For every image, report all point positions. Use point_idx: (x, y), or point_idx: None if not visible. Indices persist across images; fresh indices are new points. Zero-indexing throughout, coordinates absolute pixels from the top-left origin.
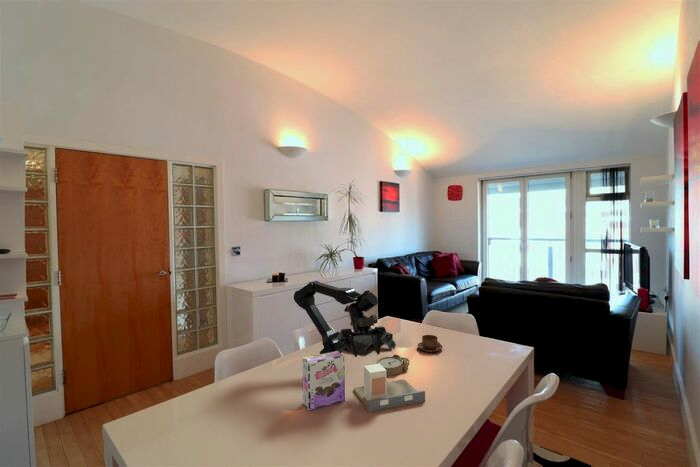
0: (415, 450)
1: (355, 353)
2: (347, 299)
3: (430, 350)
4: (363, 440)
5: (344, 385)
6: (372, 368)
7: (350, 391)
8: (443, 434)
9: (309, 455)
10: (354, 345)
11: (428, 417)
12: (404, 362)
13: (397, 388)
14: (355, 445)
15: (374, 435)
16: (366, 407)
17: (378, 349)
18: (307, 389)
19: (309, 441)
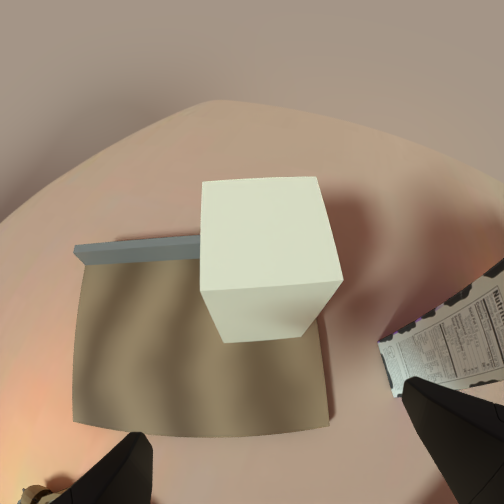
0: (237, 116)
1: (433, 383)
2: None
3: None
4: (335, 153)
5: (408, 324)
6: (287, 224)
7: (342, 418)
8: (156, 138)
9: (427, 155)
10: (487, 423)
11: (140, 189)
12: (31, 495)
13: (130, 361)
14: (352, 147)
15: (308, 159)
16: None
17: (119, 456)
18: None
19: (439, 184)
